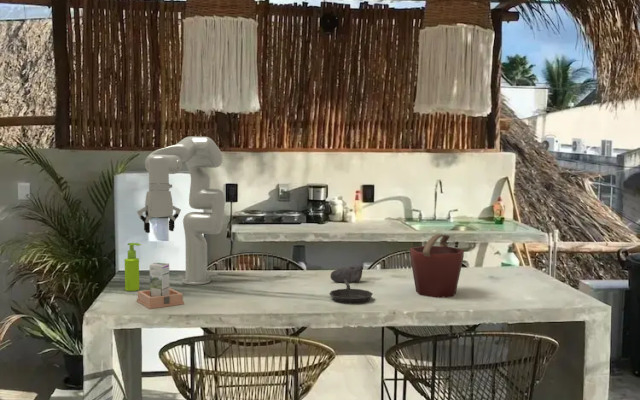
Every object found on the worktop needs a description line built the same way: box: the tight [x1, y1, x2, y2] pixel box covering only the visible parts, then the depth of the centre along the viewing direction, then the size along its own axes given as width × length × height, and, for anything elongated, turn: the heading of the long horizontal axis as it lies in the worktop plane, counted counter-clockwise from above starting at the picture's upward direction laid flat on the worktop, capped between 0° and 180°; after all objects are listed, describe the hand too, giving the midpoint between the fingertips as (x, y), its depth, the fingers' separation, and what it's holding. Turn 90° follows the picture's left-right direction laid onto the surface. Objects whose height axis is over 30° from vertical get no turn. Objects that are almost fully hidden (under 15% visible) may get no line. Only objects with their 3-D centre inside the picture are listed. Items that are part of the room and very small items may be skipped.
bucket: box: [409, 233, 465, 298], centre depth 292 cm, size 24×22×25 cm
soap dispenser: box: [124, 242, 142, 292], centre depth 293 cm, size 6×7×20 cm
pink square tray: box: [136, 287, 185, 309], centre depth 271 cm, size 14×14×4 cm
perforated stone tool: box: [330, 266, 363, 284], centre depth 313 cm, size 15×5×7 cm, turn 95°
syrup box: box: [149, 262, 170, 297], centre depth 270 cm, size 6×6×14 cm
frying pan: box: [328, 279, 374, 305], centre depth 287 cm, size 18×32×4 cm, turn 4°
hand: (159, 231), depth 269 cm, fingers open, 9 cm apart
